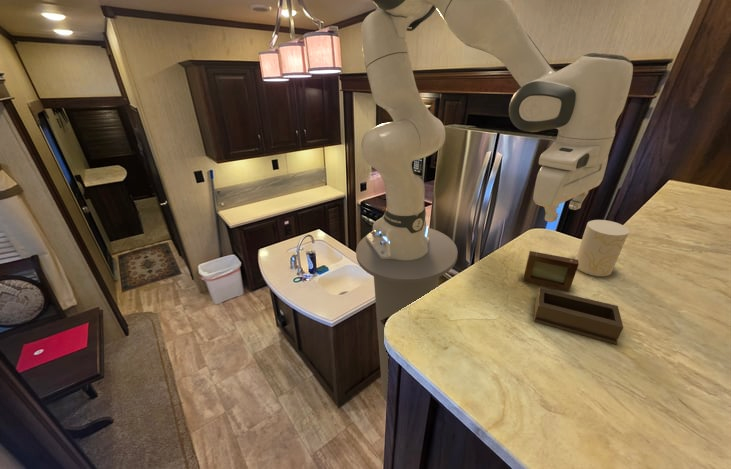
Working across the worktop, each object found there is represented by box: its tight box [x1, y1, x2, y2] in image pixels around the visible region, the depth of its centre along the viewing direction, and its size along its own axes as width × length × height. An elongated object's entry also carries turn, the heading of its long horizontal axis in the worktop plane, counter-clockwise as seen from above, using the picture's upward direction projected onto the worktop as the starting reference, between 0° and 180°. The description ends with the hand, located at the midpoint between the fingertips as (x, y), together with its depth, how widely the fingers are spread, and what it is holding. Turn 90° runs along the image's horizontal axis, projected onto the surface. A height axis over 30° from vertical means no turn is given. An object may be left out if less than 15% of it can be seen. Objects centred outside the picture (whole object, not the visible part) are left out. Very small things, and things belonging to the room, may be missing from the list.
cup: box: [574, 219, 630, 277], centre depth 74 cm, size 8×8×12 cm
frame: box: [522, 250, 579, 292], centre depth 70 cm, size 2×10×8 cm, turn 60°
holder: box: [533, 287, 624, 345], centre depth 60 cm, size 8×14×4 cm, turn 61°
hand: (562, 214), depth 63 cm, fingers open, 8 cm apart
